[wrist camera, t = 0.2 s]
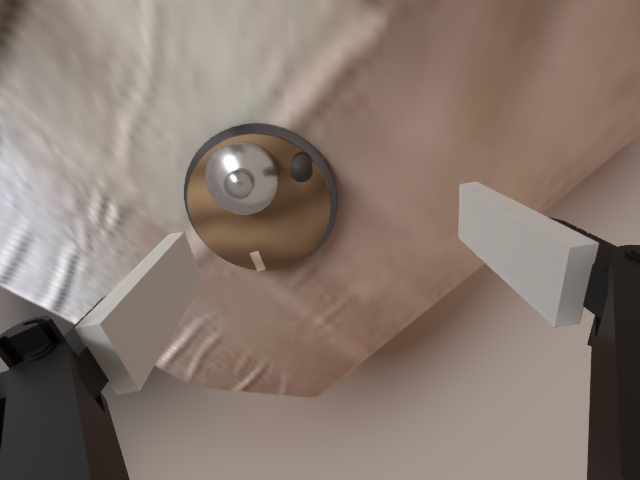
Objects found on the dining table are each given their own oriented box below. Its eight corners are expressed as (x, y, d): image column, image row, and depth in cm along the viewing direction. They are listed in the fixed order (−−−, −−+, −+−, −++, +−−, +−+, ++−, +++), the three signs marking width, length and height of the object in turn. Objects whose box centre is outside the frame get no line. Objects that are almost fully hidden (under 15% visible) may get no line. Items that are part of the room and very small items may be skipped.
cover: (201, 152, 36) (186, 160, 32) (265, 131, 36) (259, 136, 31) (228, 214, 40) (218, 229, 35) (288, 196, 39) (285, 209, 34)
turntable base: (158, 151, 39) (154, 153, 38) (311, 101, 37) (311, 101, 36) (224, 281, 47) (222, 285, 46) (352, 245, 45) (353, 248, 44)
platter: (165, 158, 38) (139, 170, 32) (305, 113, 36) (305, 116, 30) (225, 278, 45) (213, 306, 39) (344, 245, 44) (350, 268, 38)
